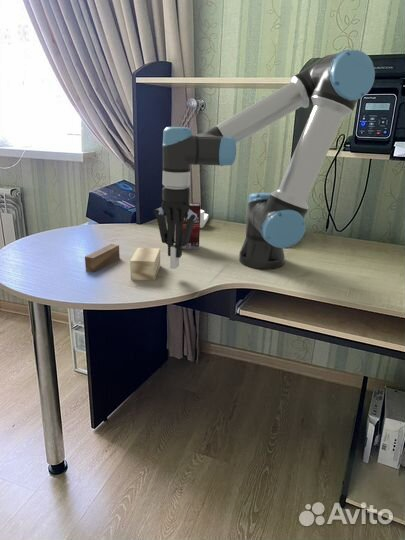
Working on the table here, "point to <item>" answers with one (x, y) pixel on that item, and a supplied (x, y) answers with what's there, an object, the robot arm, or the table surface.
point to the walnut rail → (102, 257)
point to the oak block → (145, 264)
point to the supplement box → (195, 230)
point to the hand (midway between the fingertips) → (174, 267)
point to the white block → (203, 218)
